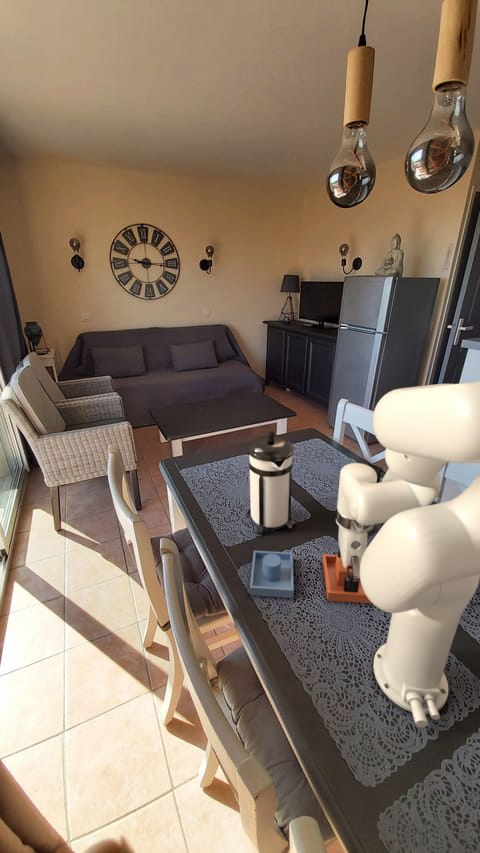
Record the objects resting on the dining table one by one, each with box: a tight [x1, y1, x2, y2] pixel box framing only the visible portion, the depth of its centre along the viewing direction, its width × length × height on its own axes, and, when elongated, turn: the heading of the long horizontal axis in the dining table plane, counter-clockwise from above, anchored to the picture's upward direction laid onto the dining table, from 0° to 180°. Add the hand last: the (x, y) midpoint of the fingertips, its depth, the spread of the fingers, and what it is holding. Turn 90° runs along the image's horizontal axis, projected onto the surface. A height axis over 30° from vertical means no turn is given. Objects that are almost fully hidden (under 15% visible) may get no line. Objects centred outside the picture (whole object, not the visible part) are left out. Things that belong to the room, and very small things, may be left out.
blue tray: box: [249, 550, 295, 599], centre depth 90 cm, size 12×10×2 cm
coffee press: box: [247, 430, 295, 536], centre depth 105 cm, size 17×16×30 cm
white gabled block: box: [381, 467, 400, 482], centre depth 117 cm, size 4×7×10 cm, turn 14°
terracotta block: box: [335, 557, 353, 586], centre depth 87 cm, size 5×5×5 cm
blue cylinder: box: [263, 554, 281, 582], centre depth 89 cm, size 4×4×5 cm
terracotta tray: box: [321, 553, 374, 605], centre depth 88 cm, size 12×10×2 cm
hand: (347, 575), depth 87 cm, fingers open, 9 cm apart
